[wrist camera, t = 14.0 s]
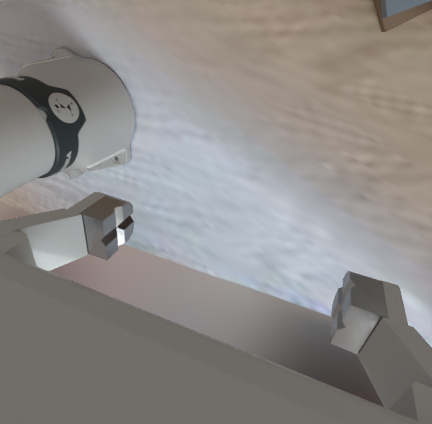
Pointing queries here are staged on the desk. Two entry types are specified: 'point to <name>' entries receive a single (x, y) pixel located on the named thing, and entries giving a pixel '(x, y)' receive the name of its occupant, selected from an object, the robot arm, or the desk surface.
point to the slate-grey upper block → (398, 6)
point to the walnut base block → (399, 15)
